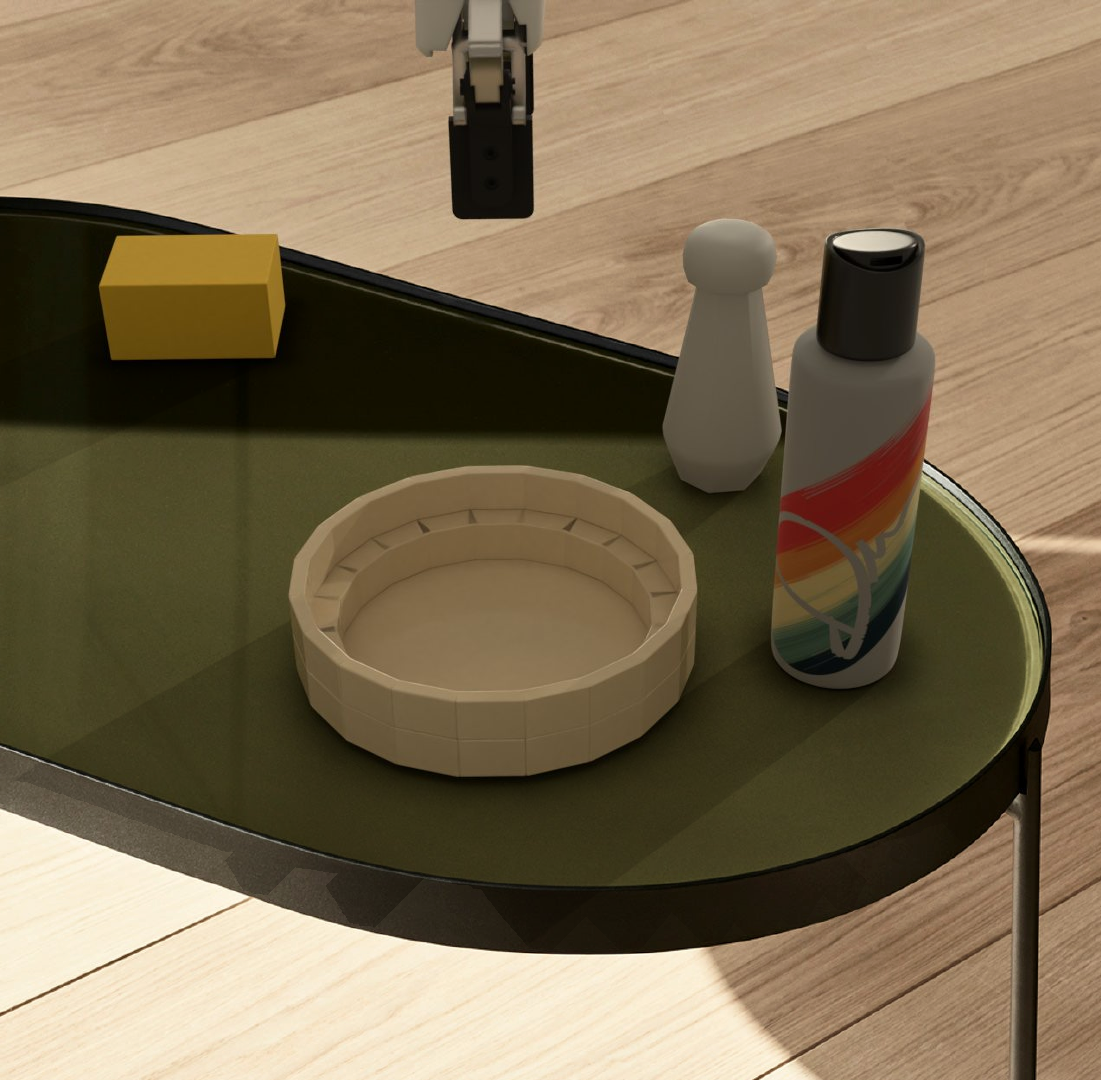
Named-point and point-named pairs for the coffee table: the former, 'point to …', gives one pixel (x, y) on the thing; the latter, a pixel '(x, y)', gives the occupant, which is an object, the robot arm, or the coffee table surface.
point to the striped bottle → (853, 463)
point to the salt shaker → (725, 361)
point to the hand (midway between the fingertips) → (495, 163)
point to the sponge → (193, 297)
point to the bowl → (494, 620)
